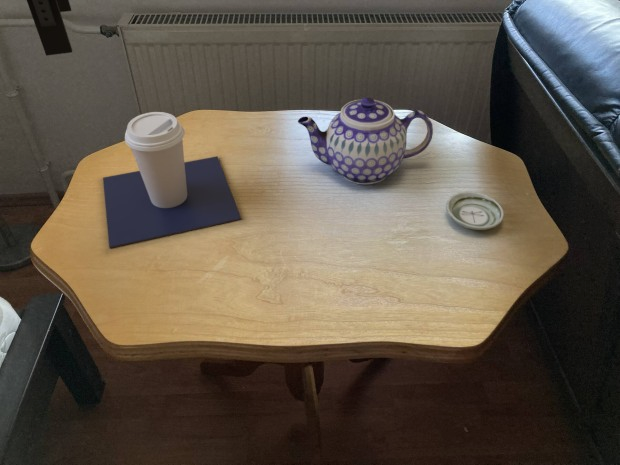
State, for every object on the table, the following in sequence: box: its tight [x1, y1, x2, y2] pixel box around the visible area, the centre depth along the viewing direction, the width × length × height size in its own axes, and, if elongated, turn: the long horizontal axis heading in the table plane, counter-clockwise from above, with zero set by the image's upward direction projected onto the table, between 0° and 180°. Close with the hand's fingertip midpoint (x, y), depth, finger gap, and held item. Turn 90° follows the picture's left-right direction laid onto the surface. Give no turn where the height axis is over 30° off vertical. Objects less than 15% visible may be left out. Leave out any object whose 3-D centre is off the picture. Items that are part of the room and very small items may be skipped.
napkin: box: [102, 155, 242, 249], centre depth 93 cm, size 22×20×1 cm
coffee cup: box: [124, 111, 187, 208], centre depth 88 cm, size 10×10×15 cm
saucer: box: [445, 191, 505, 231], centre depth 88 cm, size 10×10×2 cm
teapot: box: [297, 96, 434, 185], centre depth 95 cm, size 25×15×15 cm, turn 91°
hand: (59, 30), depth 61 cm, fingers open, 13 cm apart
